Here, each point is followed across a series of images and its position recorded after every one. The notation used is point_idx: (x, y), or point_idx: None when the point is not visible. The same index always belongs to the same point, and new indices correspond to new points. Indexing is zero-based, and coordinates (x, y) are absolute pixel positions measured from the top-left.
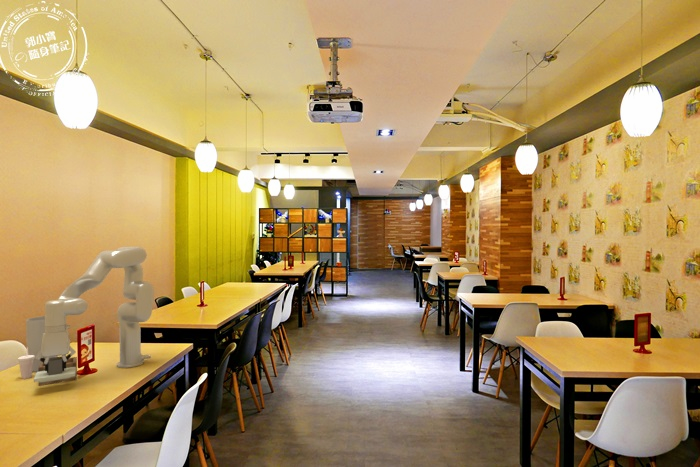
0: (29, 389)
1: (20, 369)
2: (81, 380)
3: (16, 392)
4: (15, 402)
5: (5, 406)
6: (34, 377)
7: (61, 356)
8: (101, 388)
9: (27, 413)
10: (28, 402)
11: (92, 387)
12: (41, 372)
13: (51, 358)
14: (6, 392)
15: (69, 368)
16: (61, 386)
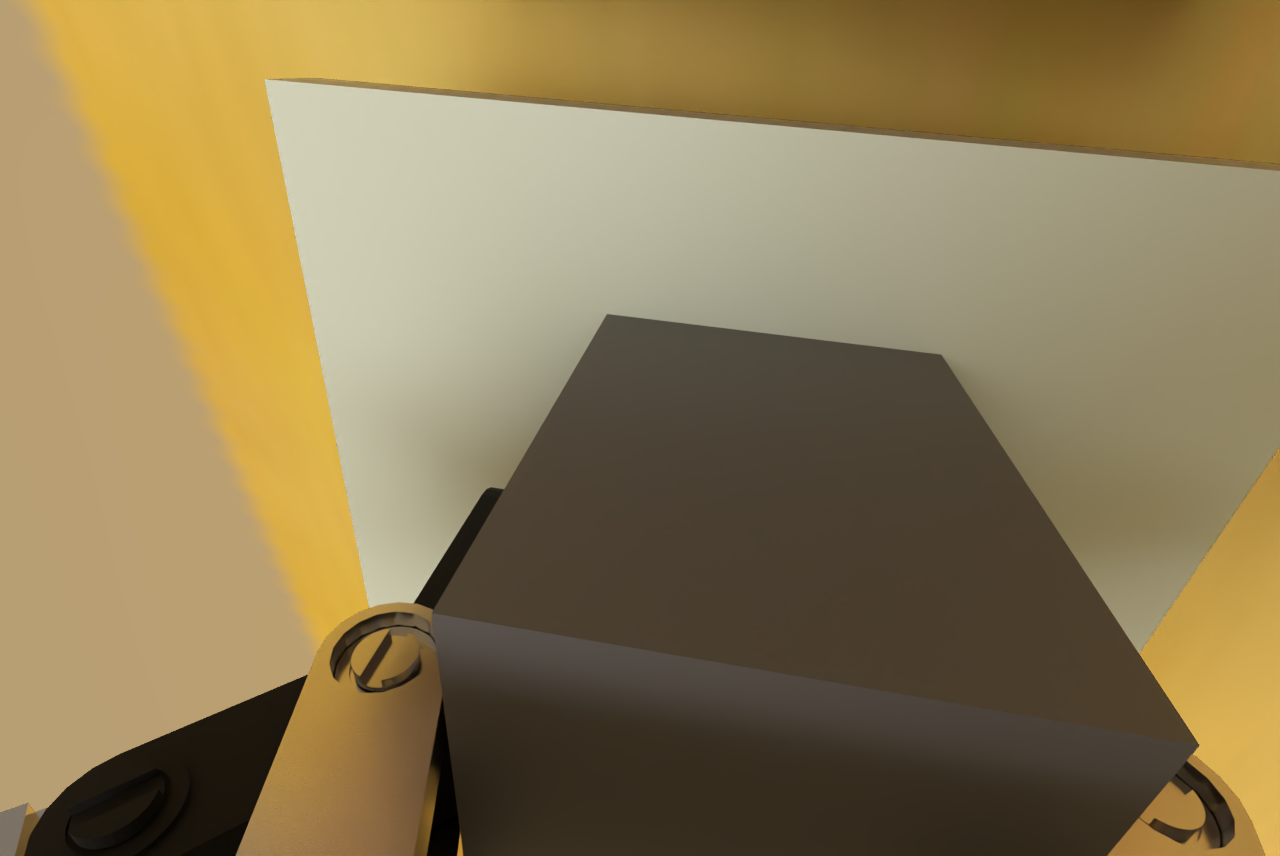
0: None
1: None
2: (1266, 112)
3: (216, 146)
4: (351, 559)
5: (298, 605)
6: (363, 570)
7: (1108, 733)
8: (1221, 724)
9: None
10: None
11: (1165, 628)
12: (413, 248)
13: (545, 771)
14: (52, 26)
15: (1156, 308)
16: None
